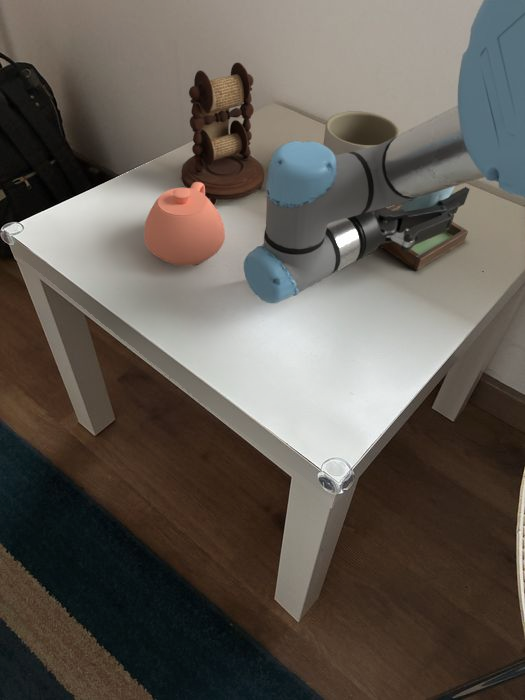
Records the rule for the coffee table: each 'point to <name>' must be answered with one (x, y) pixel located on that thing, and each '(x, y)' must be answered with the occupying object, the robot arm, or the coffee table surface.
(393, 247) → the wooden serving tray
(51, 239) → the coffee table surface
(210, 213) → the sugar bowl
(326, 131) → the planter
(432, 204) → the cup
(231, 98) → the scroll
